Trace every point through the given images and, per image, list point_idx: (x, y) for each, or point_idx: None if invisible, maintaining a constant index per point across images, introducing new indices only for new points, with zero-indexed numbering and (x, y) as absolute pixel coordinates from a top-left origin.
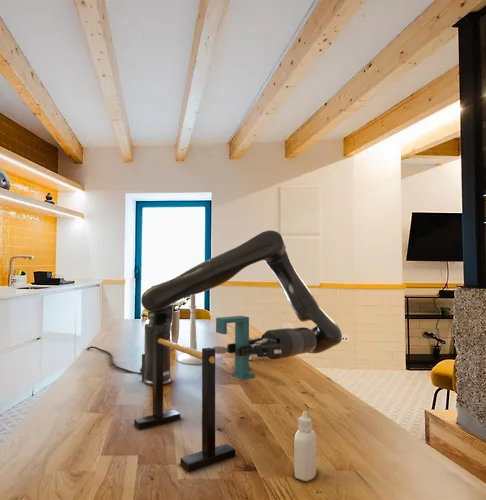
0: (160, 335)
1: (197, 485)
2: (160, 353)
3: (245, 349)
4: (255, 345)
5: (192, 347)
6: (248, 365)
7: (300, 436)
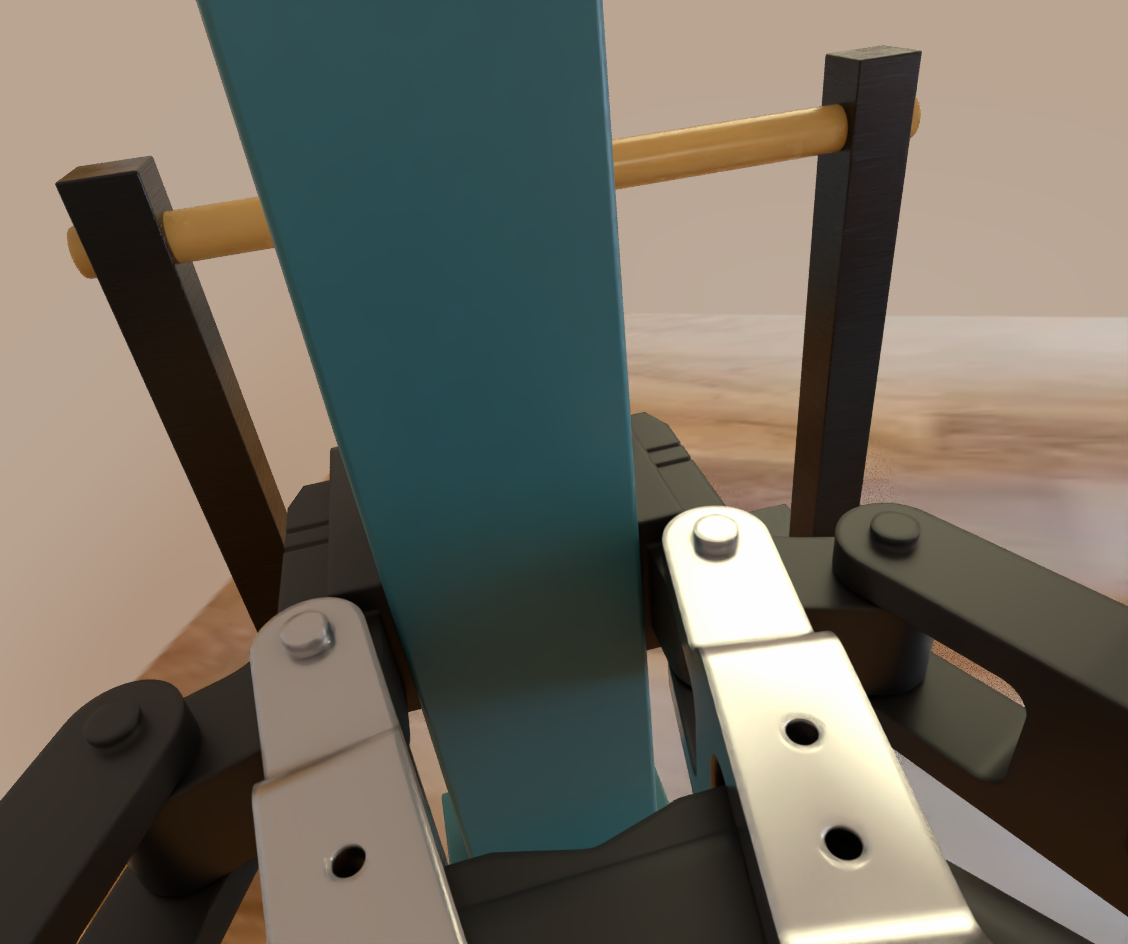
0: (842, 82)
1: (216, 650)
2: (827, 233)
3: (291, 533)
4: (257, 678)
5: None
6: (462, 829)
7: None
